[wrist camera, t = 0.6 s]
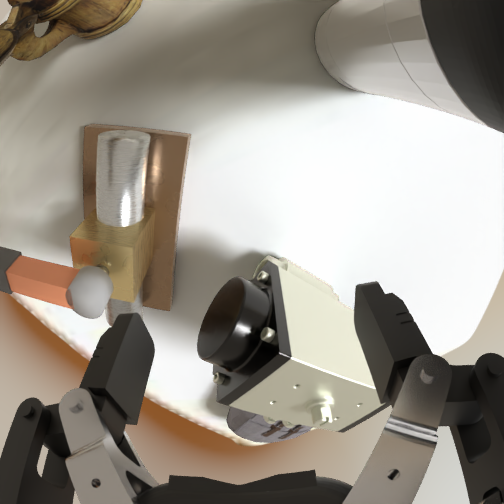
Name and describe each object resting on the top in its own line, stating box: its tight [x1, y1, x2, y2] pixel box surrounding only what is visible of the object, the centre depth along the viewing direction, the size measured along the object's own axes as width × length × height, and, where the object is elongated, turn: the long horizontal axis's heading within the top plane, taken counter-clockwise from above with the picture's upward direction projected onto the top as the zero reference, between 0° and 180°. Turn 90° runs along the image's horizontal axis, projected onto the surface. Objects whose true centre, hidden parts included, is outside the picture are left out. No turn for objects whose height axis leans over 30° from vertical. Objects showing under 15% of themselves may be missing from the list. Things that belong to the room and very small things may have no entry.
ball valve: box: [197, 256, 391, 432], centre depth 27 cm, size 18×8×18 cm, turn 55°
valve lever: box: [0, 247, 113, 319], centre depth 20 cm, size 14×3×3 cm, turn 78°
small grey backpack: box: [226, 406, 313, 443], centre depth 44 cm, size 15×8×20 cm
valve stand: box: [69, 124, 191, 326], centre depth 26 cm, size 20×10×10 cm, turn 168°
